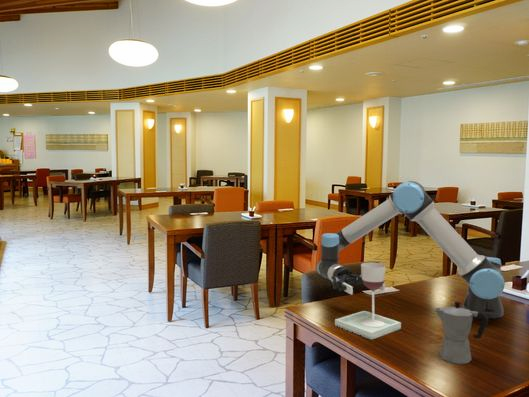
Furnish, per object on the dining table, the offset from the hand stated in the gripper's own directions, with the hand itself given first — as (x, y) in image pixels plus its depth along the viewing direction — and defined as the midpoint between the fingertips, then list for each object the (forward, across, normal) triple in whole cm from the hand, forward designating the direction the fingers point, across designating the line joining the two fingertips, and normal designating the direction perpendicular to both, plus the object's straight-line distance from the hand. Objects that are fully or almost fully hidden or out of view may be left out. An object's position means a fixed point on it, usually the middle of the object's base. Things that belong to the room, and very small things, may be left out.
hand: (368, 289), depth 169 cm
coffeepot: (+32, -13, -15) cm, 38 cm away
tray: (0, 0, -14) cm, 15 cm away
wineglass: (-1, -3, -14) cm, 14 cm away
